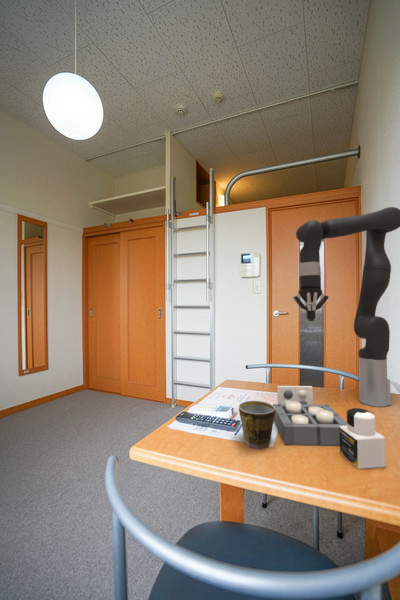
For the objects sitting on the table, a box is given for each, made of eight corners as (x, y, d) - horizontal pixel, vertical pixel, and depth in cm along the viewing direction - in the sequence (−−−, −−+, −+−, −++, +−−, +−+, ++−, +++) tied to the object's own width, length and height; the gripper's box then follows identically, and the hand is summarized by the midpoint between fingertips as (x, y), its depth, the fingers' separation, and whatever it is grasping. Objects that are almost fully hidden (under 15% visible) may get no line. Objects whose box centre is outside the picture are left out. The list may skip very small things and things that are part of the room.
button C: (298, 410, 89) (298, 401, 89) (303, 416, 85) (303, 406, 85) (284, 410, 90) (284, 401, 90) (287, 416, 85) (287, 406, 85)
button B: (329, 419, 82) (329, 409, 82) (336, 426, 77) (336, 416, 77) (313, 419, 82) (313, 409, 82) (319, 426, 77) (319, 415, 77)
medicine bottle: (339, 453, 71) (338, 406, 71) (365, 451, 72) (364, 405, 72) (357, 469, 64) (356, 417, 64) (386, 467, 64) (385, 416, 65)
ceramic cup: (247, 431, 84) (246, 398, 84) (280, 439, 79) (279, 404, 79) (229, 451, 73) (228, 413, 73) (266, 462, 67) (265, 421, 68)
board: (328, 419, 91) (328, 404, 91) (353, 446, 74) (352, 427, 74) (273, 419, 92) (272, 404, 92) (284, 444, 75) (284, 426, 76)
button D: (305, 424, 82) (305, 414, 82) (310, 432, 78) (310, 421, 78) (290, 424, 83) (289, 414, 83) (294, 431, 78) (293, 421, 78)
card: (312, 411, 98) (311, 386, 98) (313, 412, 97) (312, 387, 97) (277, 411, 99) (277, 385, 99) (278, 412, 98) (278, 386, 98)
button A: (321, 415, 89) (321, 406, 89) (326, 421, 84) (326, 412, 84) (306, 415, 89) (306, 406, 89) (311, 421, 84) (311, 411, 84)
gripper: (324, 275, 108) (325, 320, 107) (289, 276, 109) (290, 320, 108) (331, 273, 100) (333, 321, 100) (294, 274, 101) (295, 321, 101)
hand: (310, 320), depth 104 cm, fingers closed
